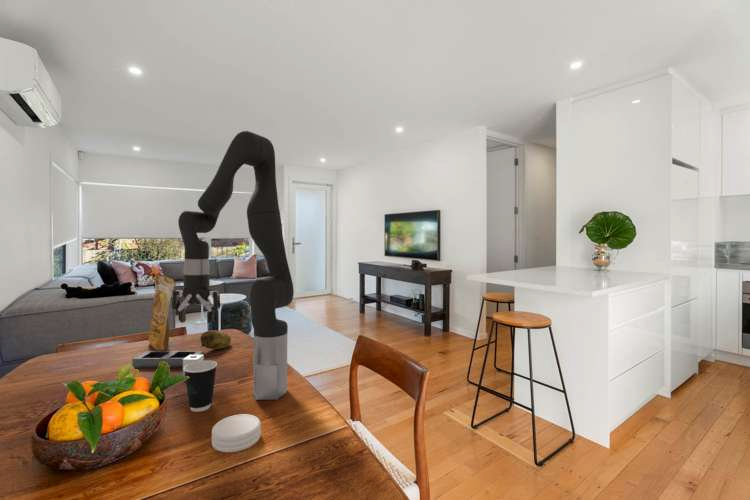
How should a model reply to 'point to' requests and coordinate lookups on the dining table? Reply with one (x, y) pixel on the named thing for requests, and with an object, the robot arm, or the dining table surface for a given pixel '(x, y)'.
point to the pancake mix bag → (161, 313)
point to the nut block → (192, 360)
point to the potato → (215, 340)
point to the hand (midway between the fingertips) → (196, 322)
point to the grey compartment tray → (162, 358)
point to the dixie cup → (200, 384)
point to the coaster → (236, 433)
